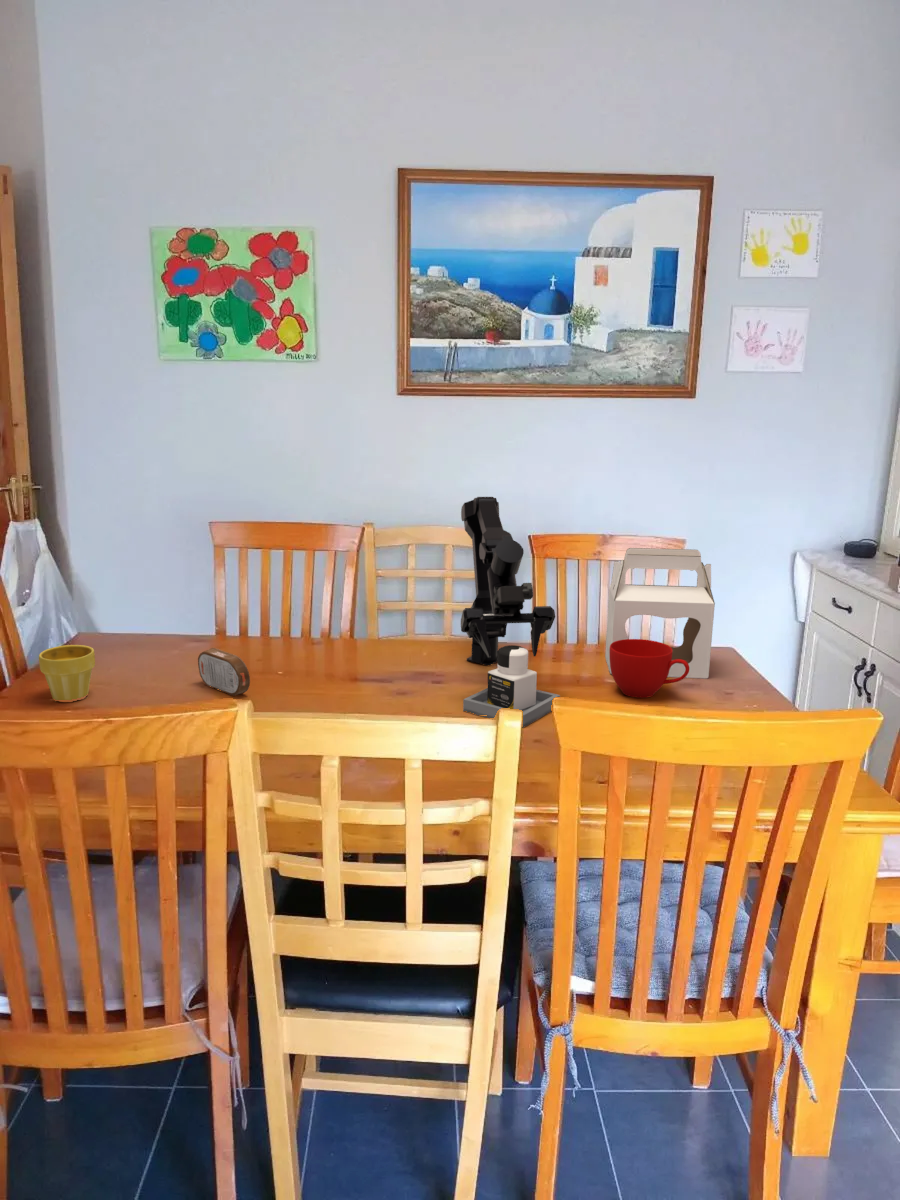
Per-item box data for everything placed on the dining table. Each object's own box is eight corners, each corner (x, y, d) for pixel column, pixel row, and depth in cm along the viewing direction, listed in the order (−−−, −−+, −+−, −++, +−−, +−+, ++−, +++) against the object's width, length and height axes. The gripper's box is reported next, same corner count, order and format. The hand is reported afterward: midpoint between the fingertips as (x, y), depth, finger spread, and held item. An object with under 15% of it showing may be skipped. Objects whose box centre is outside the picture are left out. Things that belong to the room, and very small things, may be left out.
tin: (252, 696, 182) (250, 658, 180) (239, 700, 180) (237, 661, 178) (209, 680, 192) (206, 643, 190) (196, 684, 190) (194, 646, 188)
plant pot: (95, 703, 177) (91, 657, 175) (39, 708, 174) (34, 661, 172) (100, 687, 187) (96, 642, 185) (47, 691, 184) (42, 646, 182)
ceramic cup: (676, 711, 177) (680, 664, 174) (597, 695, 186) (600, 650, 183) (695, 693, 188) (699, 648, 185) (620, 678, 196) (623, 635, 194)
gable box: (608, 675, 199) (616, 553, 192) (604, 657, 211) (610, 542, 205) (709, 679, 197) (720, 555, 190) (698, 661, 210) (708, 544, 203)
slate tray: (501, 692, 187) (501, 681, 186) (559, 706, 179) (560, 695, 178) (463, 711, 176) (463, 699, 175) (523, 727, 168) (523, 715, 167)
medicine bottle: (486, 704, 178) (487, 647, 175) (509, 696, 183) (511, 640, 180) (512, 714, 173) (514, 655, 170) (536, 705, 178) (538, 648, 175)
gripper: (463, 569, 175) (471, 638, 167) (555, 567, 178) (566, 635, 170) (457, 597, 185) (464, 664, 177) (544, 596, 187) (555, 661, 179)
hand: (512, 656), depth 176 cm, fingers open, 9 cm apart
